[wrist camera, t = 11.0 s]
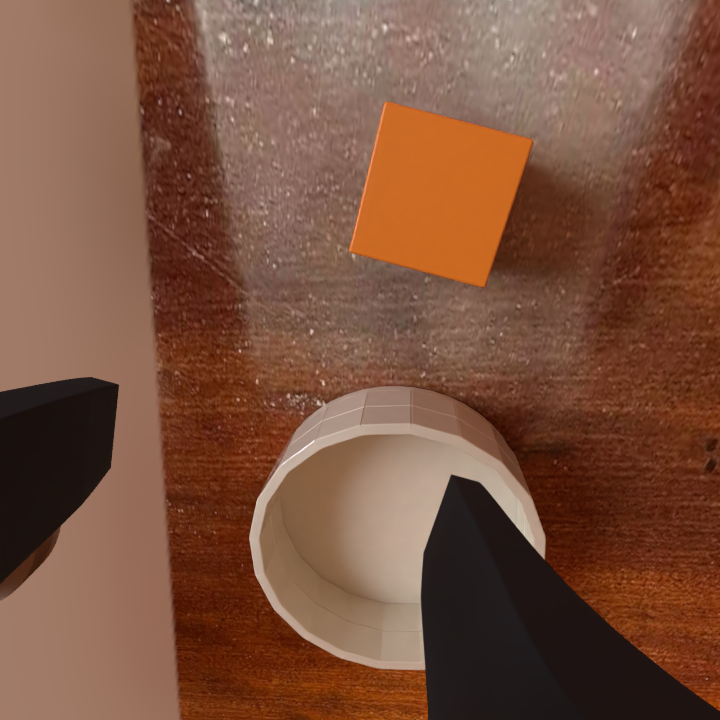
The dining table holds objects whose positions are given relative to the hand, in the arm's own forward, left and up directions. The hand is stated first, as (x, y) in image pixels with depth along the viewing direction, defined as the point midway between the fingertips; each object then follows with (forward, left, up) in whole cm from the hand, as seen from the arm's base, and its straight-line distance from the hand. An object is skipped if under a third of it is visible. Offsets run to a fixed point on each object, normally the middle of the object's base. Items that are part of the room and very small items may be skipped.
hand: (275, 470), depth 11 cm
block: (+2, +6, -9) cm, 11 cm away
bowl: (+4, -6, -9) cm, 12 cm away
